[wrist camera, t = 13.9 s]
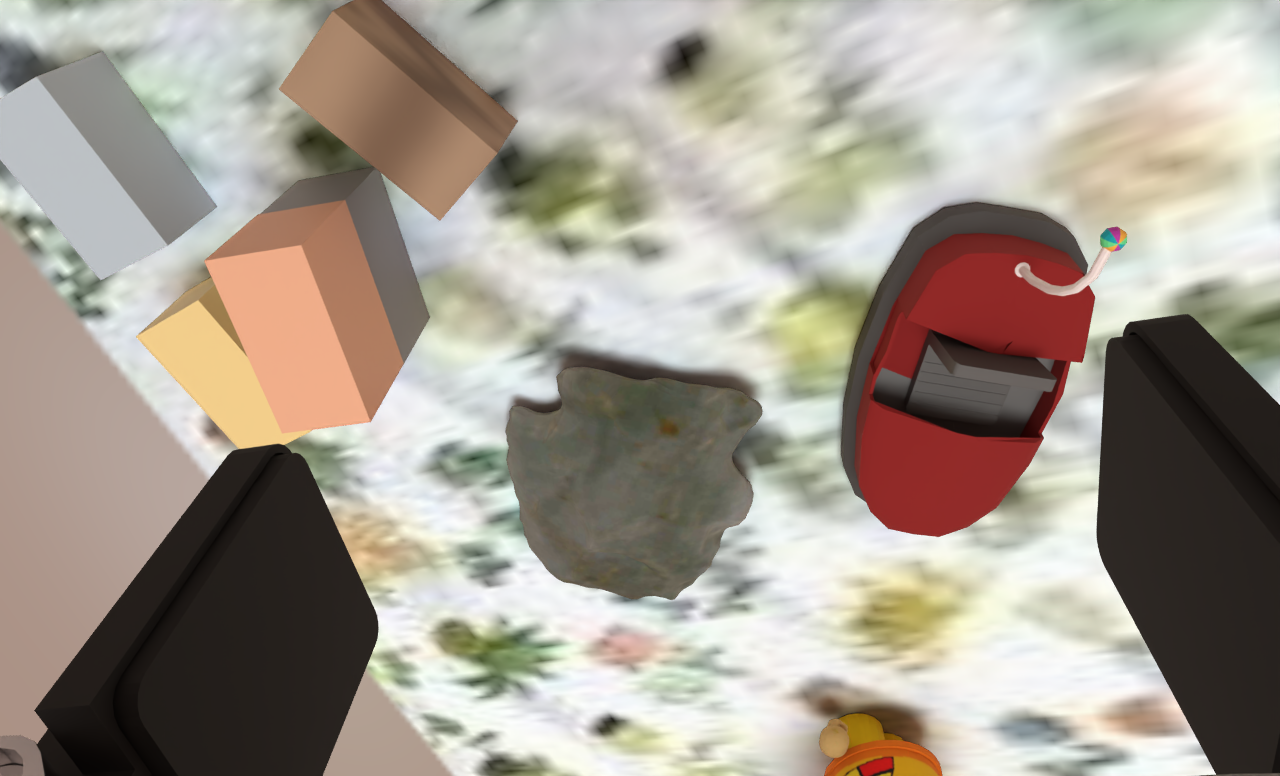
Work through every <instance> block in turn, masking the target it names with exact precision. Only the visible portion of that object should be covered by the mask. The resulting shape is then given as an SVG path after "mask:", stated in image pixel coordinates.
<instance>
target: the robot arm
mask: <svg viewBox="0 0 1280 776" xmlns="http://www.w3.org/2000/svg"><path fill="white" fill-rule="evenodd" d="M1097 543H1098V548H1099V553H1100V556H1101V559H1102V562H1103V564H1104V566H1105V568H1106V570H1107V572H1108V574H1109V575H1110V577H1111V579H1112V581H1113V583H1114V585H1115V587H1116V588H1117V590H1118V592H1119V594H1120V596H1121V598H1122V600H1123V602H1124V603H1125V605H1126V607H1127V609H1128V611H1129V613H1130V615H1131V616H1132V618H1133V620H1134V622H1135V624H1136V626H1137V628H1138V630H1139V631H1140V633H1141V635H1142V637H1143V639H1144V641H1145V643H1146V644H1147V646H1148V648H1149V650H1150V652H1151V654H1152V656H1153V657H1154V659H1155V661H1156V663H1157V665H1158V667H1159V669H1160V671H1161V672H1162V674H1163V676H1164V678H1165V680H1166V682H1167V684H1168V685H1169V687H1170V689H1171V691H1172V693H1173V695H1174V697H1175V698H1176V700H1177V702H1178V704H1179V706H1180V708H1181V710H1182V712H1183V713H1184V715H1185V717H1186V719H1187V721H1188V723H1189V725H1190V726H1191V728H1192V730H1193V732H1194V734H1195V736H1196V738H1197V739H1198V741H1199V743H1200V745H1201V747H1202V749H1203V751H1204V753H1205V754H1206V756H1207V758H1208V760H1209V762H1210V764H1211V766H1212V767H1213V769H1214V771H1215V773H1216V775H1201V776H1280V405H1279V404H1278V403H1277V402H1276V401H1275V400H1274V399H1273V398H1272V397H1271V396H1270V395H1269V394H1268V393H1267V392H1266V391H1265V390H1264V389H1263V388H1262V387H1261V386H1260V385H1259V383H1258V382H1257V381H1256V380H1255V379H1254V378H1253V377H1252V376H1251V375H1250V374H1249V373H1248V372H1247V371H1246V370H1245V369H1244V368H1243V367H1242V366H1241V365H1240V364H1239V363H1238V362H1237V361H1236V360H1235V359H1234V358H1233V357H1232V356H1231V355H1230V354H1229V353H1228V352H1227V351H1226V350H1225V349H1224V348H1223V347H1222V346H1221V345H1220V344H1219V343H1218V342H1217V341H1216V340H1215V339H1214V338H1213V337H1212V336H1211V335H1210V334H1209V333H1208V332H1207V331H1206V330H1205V329H1204V328H1203V327H1202V326H1201V325H1200V324H1199V323H1198V322H1197V321H1196V320H1195V319H1194V318H1193V317H1191V316H1190V315H1189V314H1183V315H1176V316H1169V317H1162V318H1155V319H1148V320H1141V321H1134V322H1129V323H1128V324H1127V325H1126V327H1125V330H1124V332H1123V337H1116V338H1111V339H1110V340H1109V341H1108V344H1107V348H1106V360H1105V379H1104V398H1103V417H1102V436H1101V455H1100V474H1099V493H1098V512H1097ZM377 638H378V619H377V614H376V612H375V609H374V607H373V605H372V602H371V600H370V598H369V596H368V594H367V592H366V589H365V587H364V585H363V583H362V581H361V579H360V576H359V574H358V572H357V570H356V568H355V566H354V563H353V561H352V559H351V557H350V555H349V553H348V550H347V548H346V546H345V544H344V542H343V540H342V538H341V535H340V533H339V531H338V529H337V527H336V525H335V522H334V520H333V518H332V516H331V514H330V512H329V509H328V507H327V505H326V503H325V501H324V499H323V496H322V494H321V492H320V490H319V488H318V486H317V483H316V481H315V479H314V477H313V475H312V473H311V470H310V468H309V466H308V464H307V462H306V461H305V459H304V458H303V457H302V456H301V455H300V454H298V453H292V452H291V451H290V450H289V449H288V448H287V447H286V446H285V445H282V444H272V445H265V446H258V447H251V448H244V449H238V450H234V451H232V452H231V453H230V454H229V455H228V456H227V457H226V458H225V460H224V461H223V462H222V464H221V465H220V466H219V468H218V469H217V470H216V472H215V473H214V474H213V476H212V477H211V478H210V480H209V481H208V482H207V484H206V485H205V486H204V488H203V489H202V490H201V491H200V493H199V494H198V496H197V497H196V498H195V499H194V501H193V502H192V504H191V505H190V506H189V507H188V509H187V510H186V511H185V513H184V514H183V515H182V516H181V518H180V519H179V521H178V522H177V523H176V524H175V526H174V527H173V528H172V530H171V531H170V532H169V534H168V535H167V536H166V538H165V539H164V540H163V542H162V543H161V544H160V545H159V547H158V548H157V550H156V551H155V552H154V553H153V555H152V556H151V557H150V559H149V560H148V561H147V563H146V564H145V565H144V567H143V568H142V569H141V571H140V572H139V573H138V574H137V576H136V577H135V578H134V580H133V581H132V582H131V584H130V585H129V586H128V588H127V589H126V590H125V592H124V593H123V595H122V596H121V597H120V598H119V600H118V601H117V602H116V603H115V605H114V606H113V607H112V609H111V610H110V611H109V613H108V614H107V615H106V617H105V618H104V619H103V621H102V622H101V623H100V625H99V626H98V627H97V629H96V630H95V631H94V632H93V634H92V635H91V636H90V638H89V639H88V640H87V642H86V643H85V644H84V646H83V647H82V648H81V650H80V651H79V652H78V654H77V655H76V656H75V658H74V659H73V660H72V661H71V663H70V664H69V665H68V667H67V668H66V669H65V671H64V672H63V673H62V675H61V676H60V677H59V679H58V680H57V681H56V683H55V684H54V685H53V687H52V688H51V689H50V691H49V692H48V693H47V694H46V696H45V697H44V698H43V700H42V701H41V702H40V704H39V705H38V706H37V708H36V709H35V710H34V711H35V712H36V713H37V715H38V716H39V717H40V718H41V720H42V721H43V722H44V724H45V725H46V726H47V728H48V730H47V731H46V733H45V734H44V736H43V737H42V738H41V740H40V741H39V742H38V744H36V743H35V741H33V740H30V739H28V738H26V737H24V736H0V776H323V773H324V770H325V768H326V766H327V763H328V761H329V758H330V756H331V753H332V751H333V748H334V746H335V743H336V741H337V738H338V736H339V734H340V731H341V728H342V726H343V724H344V721H345V719H346V716H347V714H348V711H349V709H350V706H351V704H352V701H353V698H354V696H355V694H356V691H357V689H358V686H359V684H360V681H361V679H362V677H363V674H364V672H365V669H366V667H367V664H368V662H369V659H370V657H371V654H372V652H373V649H374V647H375V644H376V641H377Z"/></svg>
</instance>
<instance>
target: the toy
mask: <svg viewBox="0 0 1280 776" xmlns="http://www.w3.org/2000/svg"><path fill="white" fill-rule="evenodd" d="M819 745H820V748H821V750H822V751H823V753H824V754H825V755H827V756H829V757H832V758H835V759H834V760H833V761H832V762H831V763H830V764H829V765H828V767H827V768H826V771H825V775H824V776H942V771H941V767H940V763H939V761H938V760H937V758H936V757H935V756H934V755H933V754H932V753H931V752H930V751H929V750H927V749H925V748H923V747H922V746H920V745H917V744H914V743H911V742H907V741H904V740H903V739H902V738H901V737H899V736H896V735H894V734H888V733H883V728H882V725H881V723H880V722H879V721H878V720H877V719H876V718H874V717H872V716H870V715H867V714H860V713H856V714H849V715H846V716H844V717H841V718H839V719H832V720H830V721H829V723H828V726H827V727H826V728H824V729H823V731H822V732H821V735H820V740H819Z"/></svg>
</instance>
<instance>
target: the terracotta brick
mask: <svg viewBox="0 0 1280 776" xmlns="http://www.w3.org/2000/svg"><path fill="white" fill-rule="evenodd" d="M205 264H206V266H207V268H208V270H209V272H210V275H211V277H212V279H213V281H214V284H215V286H216V288H217V290H218V292H219V295H220V297H221V299H222V301H223V304H224V306H225V308H226V310H227V312H228V315H229V317H230V319H231V321H232V323H233V326H234V328H235V330H236V332H237V335H238V337H239V339H240V341H241V343H242V346H243V348H244V350H245V352H246V355H247V357H248V359H249V361H250V363H251V366H252V368H253V370H254V372H255V374H256V377H257V379H258V381H259V383H260V386H261V388H262V390H263V392H264V394H265V397H266V399H267V401H268V403H269V406H270V408H271V410H272V412H273V414H274V417H275V419H276V421H277V423H278V425H279V428H280V430H281V432H282V434H283V433H290V432H298V431H306V430H313V429H321V428H329V427H336V426H344V425H352V424H359V423H367V422H371V420H372V419H373V417H374V415H375V413H376V412H377V410H378V408H379V406H380V405H381V403H382V401H383V399H384V398H385V396H386V394H387V392H388V390H389V389H390V387H391V385H392V383H393V382H394V380H395V378H396V376H397V375H398V373H399V371H400V369H401V368H402V366H403V364H404V363H403V360H402V357H401V354H400V352H399V349H398V346H397V343H396V340H395V338H394V335H393V332H392V329H391V326H390V324H389V321H388V318H387V315H386V312H385V310H384V307H383V304H382V301H381V299H380V296H379V293H378V290H377V287H376V285H375V282H374V279H373V276H372V273H371V271H370V268H369V265H368V262H367V259H366V257H365V254H364V251H363V248H362V245H361V243H360V240H359V237H358V234H357V231H356V229H355V226H354V223H353V220H352V217H351V215H350V212H349V209H348V206H347V204H346V201H345V200H342V201H336V202H330V203H324V204H318V205H312V206H306V207H300V208H294V209H288V210H282V211H276V212H270V213H264V214H258V215H257V216H256V217H254V218H253V219H252V220H251V221H250V222H249V223H248V224H246V225H245V226H244V227H243V228H242V229H241V230H239V231H238V232H237V233H236V234H235V235H234V236H232V237H231V238H230V239H229V240H228V241H227V242H225V243H224V244H223V245H222V246H221V247H220V248H218V249H217V250H216V251H215V252H214V253H213V254H212V255H210V256H209V257H208V258H207V259H206V260H205Z"/></svg>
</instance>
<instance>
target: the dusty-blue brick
mask: <svg viewBox="0 0 1280 776" xmlns="http://www.w3.org/2000/svg"><path fill="white" fill-rule="evenodd" d="M0 160H1V161H2V162H3V163H4V165H5V166H6V167H7V168H8V169H9V171H10V172H11V173H12V174H13V175H14V177H15V178H16V179H17V180H18V181H19V183H20V184H21V185H22V186H23V187H24V189H25V190H26V191H27V192H28V193H29V195H30V196H31V197H32V198H33V199H34V201H35V202H36V203H37V204H38V205H39V207H40V208H41V209H42V210H43V212H44V213H45V214H46V215H47V216H48V218H49V219H50V220H51V221H52V222H53V224H54V225H55V226H56V227H57V228H58V230H59V231H60V232H61V233H62V234H63V236H64V237H65V238H66V239H67V240H68V242H69V243H70V244H71V245H72V246H73V248H74V249H75V250H76V251H77V252H78V254H79V255H80V256H81V257H82V258H83V260H84V261H85V262H86V263H87V264H88V266H89V267H90V268H91V269H92V270H93V272H94V273H95V274H96V275H97V276H98V278H99V279H100V280H102V279H104V278H106V277H108V276H110V275H112V274H114V273H116V272H118V271H120V270H122V269H123V268H125V267H127V266H129V265H131V264H133V263H135V262H137V261H139V260H141V259H143V258H145V257H147V256H149V255H151V254H153V253H155V252H156V251H158V250H160V249H162V248H164V247H166V246H168V245H169V244H171V243H172V242H173V241H174V240H176V239H177V238H178V237H179V236H181V235H182V234H183V233H185V232H186V231H187V230H188V229H190V228H191V227H192V226H193V225H195V224H196V223H197V222H198V221H200V220H201V219H202V218H204V217H205V216H206V215H207V214H209V213H210V212H211V211H212V210H214V209H215V208H216V207H217V206H216V204H215V203H214V202H213V200H212V199H211V198H210V196H209V195H208V194H207V192H206V191H205V189H204V188H203V187H202V185H201V184H200V183H199V181H198V180H197V179H196V177H195V176H194V174H193V173H192V172H191V170H190V169H189V168H188V166H187V165H186V164H185V162H184V161H183V159H182V158H181V157H180V155H179V154H178V153H177V151H176V150H175V149H174V147H173V146H172V144H171V143H170V142H169V140H168V139H167V138H166V136H165V135H164V134H163V132H162V131H161V129H160V128H159V127H158V125H157V124H156V123H155V121H154V120H153V119H152V117H151V116H150V114H149V113H148V112H147V110H146V109H145V108H144V106H143V105H142V104H141V102H140V101H139V99H138V98H137V97H136V95H135V94H134V93H133V91H132V90H131V89H130V87H129V86H128V84H127V83H126V82H125V80H124V79H123V78H122V76H121V75H120V74H119V72H118V71H117V69H116V68H115V67H114V65H113V64H112V63H111V61H110V60H109V59H108V57H107V56H106V54H105V53H104V52H103V51H102V52H99V53H97V54H94V55H92V56H89V57H86V58H84V59H81V60H78V61H76V62H73V63H71V64H68V65H65V66H63V67H60V68H58V69H55V70H52V71H50V72H47V73H44V74H42V75H39V76H37V77H35V78H33V79H32V80H30V81H28V82H27V83H25V84H23V85H22V86H20V87H18V88H17V89H15V90H14V91H12V92H10V93H9V94H7V95H5V96H4V97H2V98H0Z"/></svg>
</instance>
